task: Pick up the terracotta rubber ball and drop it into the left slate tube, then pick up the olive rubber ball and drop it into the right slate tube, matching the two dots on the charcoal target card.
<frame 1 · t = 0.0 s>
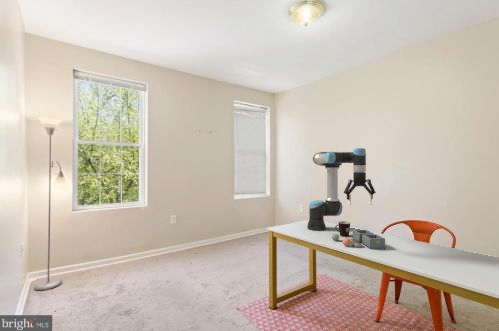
hand: (359, 204, 165), 28 cm above the table, fingers open, 13 cm apart
tube right: (373, 246, 167), on the table
tube left: (362, 240, 179), on the table
coffee mug: (342, 235, 192), on the table
rust ball: (346, 245, 168), on the table
olive ball: (335, 240, 180), on the table
target card: (354, 243, 172), on the table
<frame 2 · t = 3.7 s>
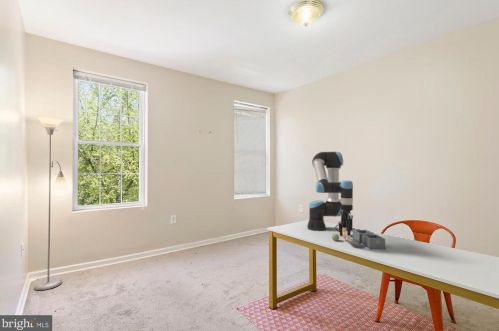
hand: (346, 238, 169), 5 cm above the table, fingers closed on rust ball, 5 cm apart
rust ball: (346, 239, 169), point 4 cm above the table, touching gripper
everything else where it was.
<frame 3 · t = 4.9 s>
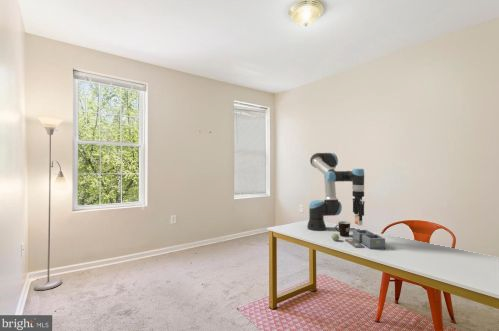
hand: (358, 224, 176), 13 cm above the table, fingers closed on rust ball, 5 cm apart
rust ball: (358, 224, 176), point 12 cm above the table, touching gripper
everything else where it was.
when the fingers open (8 cm above the table, at t = 6.0 s): rust ball drops 6 cm, resting on tube left.
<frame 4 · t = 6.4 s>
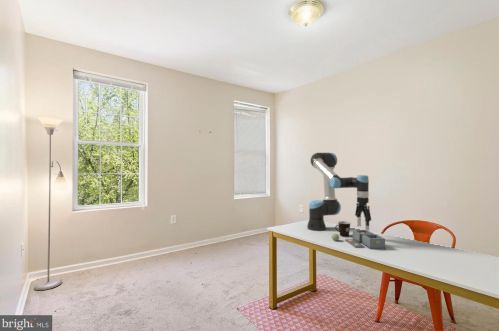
hand: (362, 228, 179), 9 cm above the table, fingers open, 11 cm apart
rust ball: (362, 239, 179), point 1 cm above the table, touching tube left
everything else where it was.
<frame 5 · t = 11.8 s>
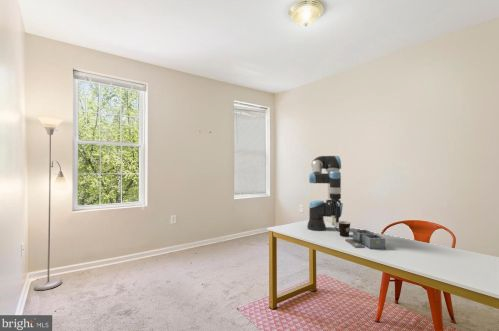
hand: (335, 225, 180), 11 cm above the table, fingers closed on olive ball, 5 cm apart
rust ball: (362, 239, 179), point 1 cm above the table, tilted 28°, touching tube left
olive ball: (335, 226, 180), point 10 cm above the table, touching gripper
everything else where it was.
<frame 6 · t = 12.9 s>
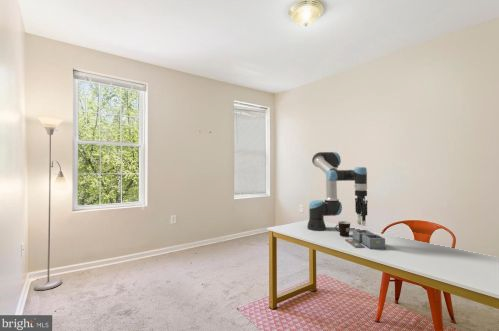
hand: (361, 224, 170), 14 cm above the table, fingers closed on olive ball, 5 cm apart
olive ball: (361, 225, 170), point 13 cm above the table, touching gripper
everything else where it was.
when the fingers open (8 cm above the table, at t = 14.1 s): olive ball drops 6 cm, resting on tube right.
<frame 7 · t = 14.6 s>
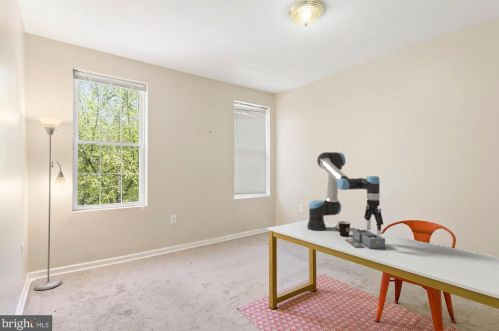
hand: (373, 232, 167), 9 cm above the table, fingers open, 12 cm apart
olive ball: (373, 244, 167), point 1 cm above the table, tilted 5°, touching tube right
everything else where it was.
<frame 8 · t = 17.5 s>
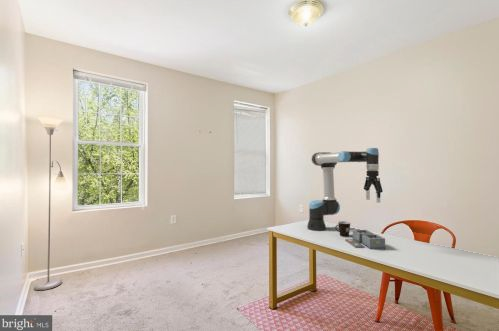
hand: (372, 201, 175), 29 cm above the table, fingers open, 13 cm apart
olive ball: (373, 244, 167), point 1 cm above the table, tilted 31°, touching tube right
everything else where it was.
at the end: rust ball 0.0 cm off-centre on the tube left, point 1.2 cm above the tube left's base; olive ball 0.1 cm off-centre on the tube right, point 1.4 cm above the tube right's base; the gripper is holding nothing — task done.
